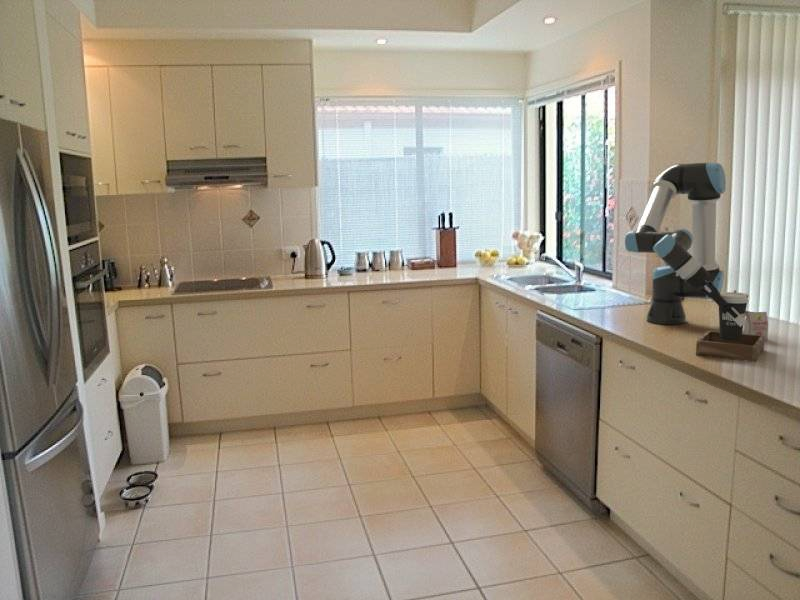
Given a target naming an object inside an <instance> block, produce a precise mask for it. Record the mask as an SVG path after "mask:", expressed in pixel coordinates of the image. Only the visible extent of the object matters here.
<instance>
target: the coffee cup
mask: <svg viewBox="0 0 800 600" xmlns="http://www.w3.org/2000/svg"><path fill="white" fill-rule="evenodd" d="M720 296H721V297H722V298H723V299H724V300H725V301H726V302H727V303H728V304H729V305H731V306H732V307H733V308H734V309H735V310H736V311H737V312H738V313H739V314H740V315H741V316H742V317H743V318H744V319H746V312H747V311H746V310H747V305H748V303H749V297H748V298H747V297H746V295H744V294H738V293H725V292H723V293H720ZM725 307H726V306H725ZM725 307H724V308H725ZM718 318H719V319H718V321H719V323H718V324H719V326H718V327H719V332H720V339H723V340H728V341H739V340H741V337H742V334H743V332H744V325H742V326H741V327H740V326H739V325H738V324H737V323H736V322H735V321H734V320H733V319H732V318H731V317H730V316H729V315H728V314H727V313H725V314H724V313H723V309H722V308H721V307H720V306H719V305H718Z"/></svg>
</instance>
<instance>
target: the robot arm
mask: <svg viewBox="0 0 800 600" xmlns="http://www.w3.org/2000/svg"><path fill="white" fill-rule="evenodd" d="M726 183H727V182H726V172H725V170H724V167H723V165H722V164H721V163H719V162H695V163H677V164H673V165H672V166H669V167H668V168H666V169H664V171H662V172H661V173H660V174H659V175H658V176H656V178H655V180H653V183H652V185H651V188H650V197H649V199H648V201H647V204H646V205H645V209H644V211H643V213H642V215H641V218H640V220H639V223H638V226H636V227H637V228H636V229H635V230H631V231H628V232H627V233H626V234H625V238H624V247H625V250H626V251H627V252H630V253H647V254H649V253H650V254H652V253H654V254H656V255H657V256H658V257H659V258H660V259H661V260H662V261H663V262H664V263H665V264H666V265H663V266H658V267H656V268H654V269H653V272H652V284H651V285H652V293H651V304H650V307H649V310H648V312H647V314H646V321H647V322H649V323H653V324H659V325H682V324H685V323H686V321H687V316H686V313H685V309H684V306H683V298H686V299H687V298H690V299H701V300H713V302H715V303H716V305H718V307H719V306H720V307H721V308H722V309H723V313H724V314H725V313H727V314H728V315H729V316H730V317H731V318H732V319H733V320H734V321H735V322H736V323H737V324H738V325H739V326H740V327H741V326H742V325H743V326H744V324H745V323H746V322H747V321H746V318H743V317H742V316H741V315H740V314H739V313H738V312H737V311H736V310H735V309H734V308H733V307H732V306H731V305H729V304H728V303H727V302H726V301H725V300H724V299H723V298H722V297H721V296H720V294H721V291H722V289H723V284H724V280H725V272H724V270H722V269H720V264H719V263H717V261H716V234H717V233H716V228H717V224H716V223H717V201H719V200H720V199H721V196H722V194H724V193H726V186H727V185H726ZM677 195H687V200H688V201H689V202H690V203H691V232H690V231H689V230H688V229H686V228H679V229H676V230H675V231H672V232H671V231H659V230H660V228H661V226H662V223H663V222H664V221H663V220H664V218H665V216H666V213H667V212H668V208H669V206H670V203H671V201H672V200H673V199H674V198H675V197H676V196H677ZM690 248H691V253H690V252H688V251H689V250H690ZM725 306H726V307H725ZM724 307H725V308H724Z"/></svg>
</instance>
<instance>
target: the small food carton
mask: <svg viewBox="0 0 800 600" xmlns="http://www.w3.org/2000/svg"><path fill="white" fill-rule="evenodd" d="M745 320H746V321H747V322H746V323H745V324H744V325H743V334H750V335H761V336H765V339H764V341H767V340H768V335H769V320H768V312H767V311H752V312H751V311H749V312H747V313H746V316H745Z"/></svg>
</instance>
